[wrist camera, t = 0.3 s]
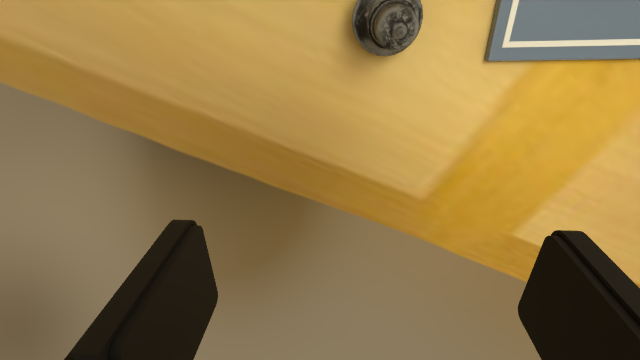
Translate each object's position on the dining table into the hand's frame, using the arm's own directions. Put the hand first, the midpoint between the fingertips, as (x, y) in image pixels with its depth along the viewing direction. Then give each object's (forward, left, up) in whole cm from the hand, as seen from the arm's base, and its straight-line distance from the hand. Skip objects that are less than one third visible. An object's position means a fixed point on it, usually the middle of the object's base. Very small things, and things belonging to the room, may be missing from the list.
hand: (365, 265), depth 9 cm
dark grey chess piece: (-4, +3, -28) cm, 29 cm away
